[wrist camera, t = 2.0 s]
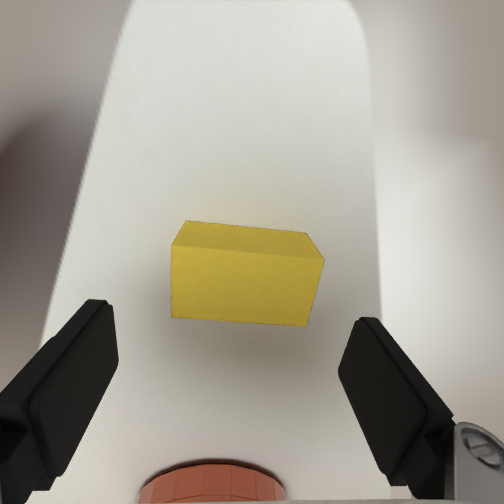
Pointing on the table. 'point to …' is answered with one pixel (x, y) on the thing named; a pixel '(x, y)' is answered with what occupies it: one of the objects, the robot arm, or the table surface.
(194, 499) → the bowl
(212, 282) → the sponge
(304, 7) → the table surface
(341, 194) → the table surface
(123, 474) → the table surface
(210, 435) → the table surface
